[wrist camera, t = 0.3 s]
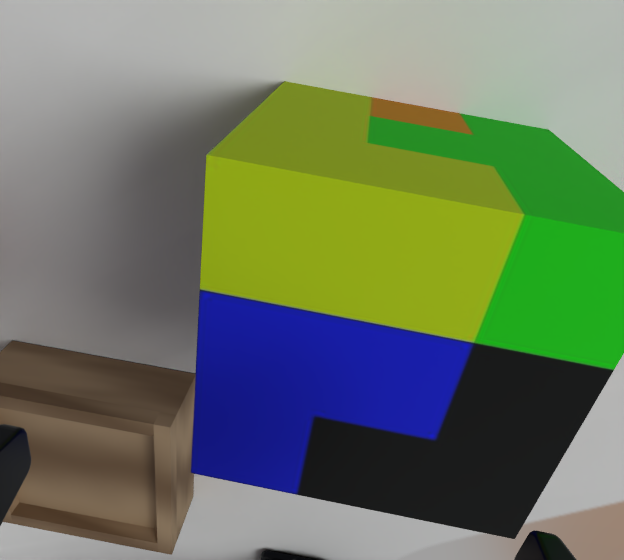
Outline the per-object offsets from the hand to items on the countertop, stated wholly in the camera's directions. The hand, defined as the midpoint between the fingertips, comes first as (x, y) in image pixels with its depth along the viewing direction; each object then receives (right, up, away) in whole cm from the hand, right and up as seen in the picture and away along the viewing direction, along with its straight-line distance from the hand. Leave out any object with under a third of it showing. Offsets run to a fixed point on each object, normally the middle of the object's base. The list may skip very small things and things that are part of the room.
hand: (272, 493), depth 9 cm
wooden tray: (-11, -5, +21) cm, 24 cm away
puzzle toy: (+4, +6, +13) cm, 15 cm away
